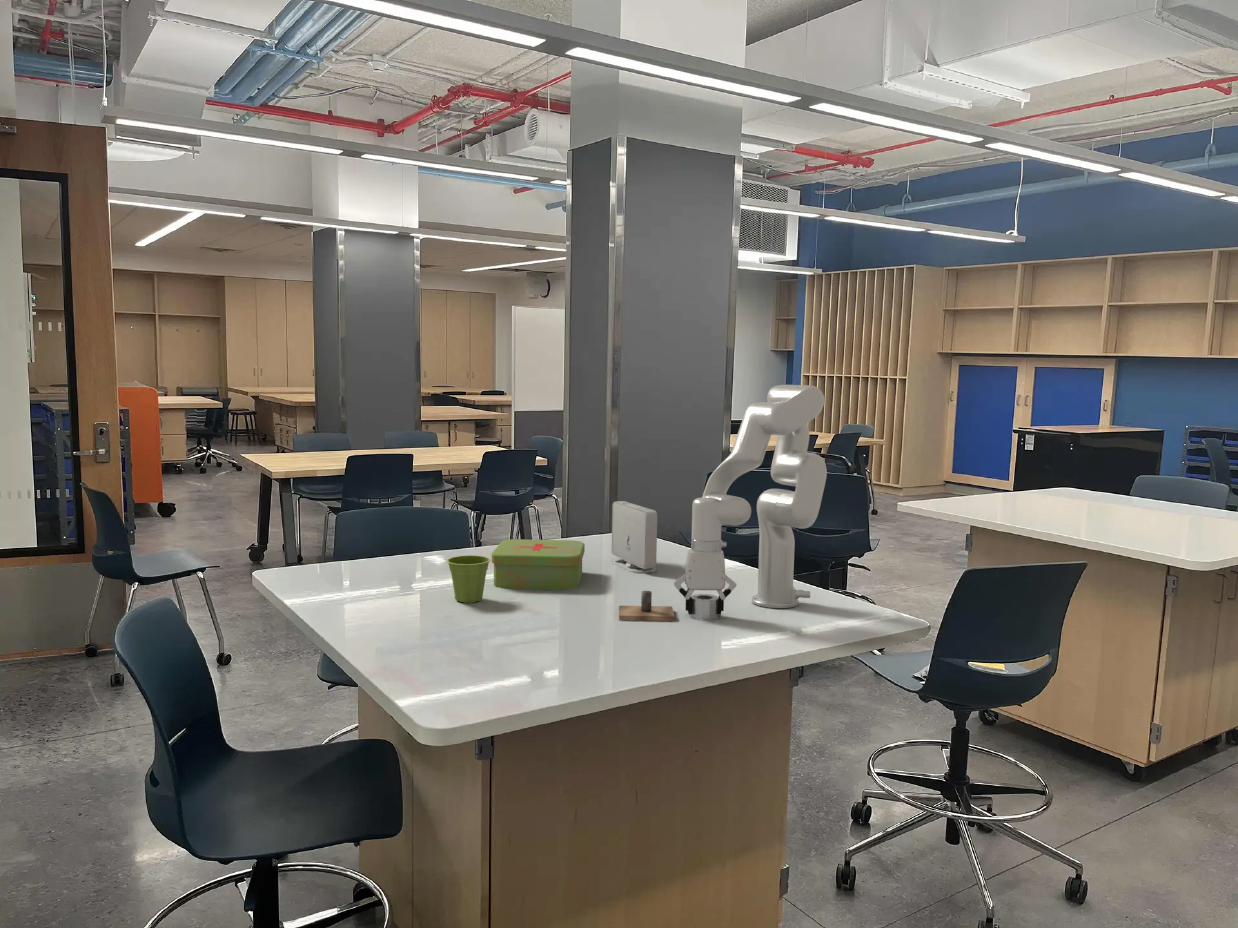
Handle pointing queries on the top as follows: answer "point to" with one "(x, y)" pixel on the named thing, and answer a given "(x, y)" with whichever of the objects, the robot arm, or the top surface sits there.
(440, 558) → the top surface
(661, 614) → the post block
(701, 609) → the steel ring
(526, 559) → the first aid kit
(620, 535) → the network device
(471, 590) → the plant pot
